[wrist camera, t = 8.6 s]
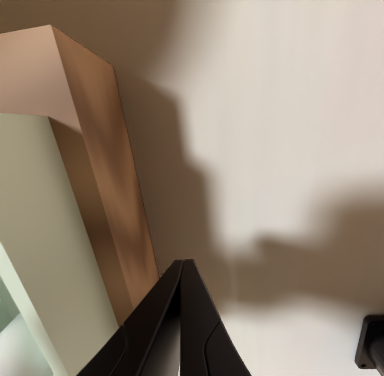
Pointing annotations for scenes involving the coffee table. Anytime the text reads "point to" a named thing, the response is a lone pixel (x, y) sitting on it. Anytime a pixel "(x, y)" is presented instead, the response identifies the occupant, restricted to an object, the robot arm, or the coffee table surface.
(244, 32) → the coffee table surface
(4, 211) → the tray
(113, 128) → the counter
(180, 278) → the robot arm
